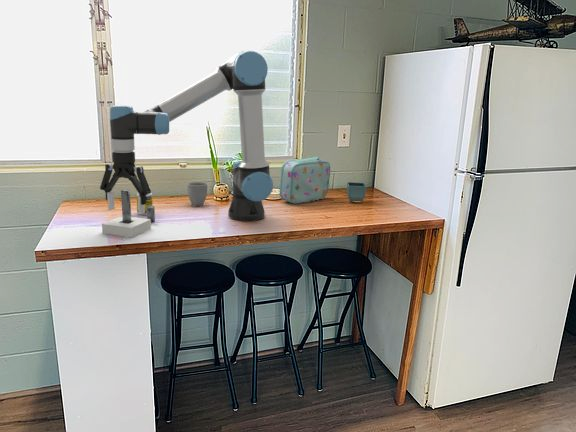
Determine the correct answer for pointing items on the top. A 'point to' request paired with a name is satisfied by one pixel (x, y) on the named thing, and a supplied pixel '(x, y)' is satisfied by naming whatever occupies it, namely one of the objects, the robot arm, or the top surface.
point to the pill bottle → (148, 202)
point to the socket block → (126, 227)
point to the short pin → (151, 213)
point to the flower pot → (356, 191)
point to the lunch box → (304, 180)
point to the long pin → (126, 206)
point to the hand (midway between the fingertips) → (126, 211)
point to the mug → (197, 193)
